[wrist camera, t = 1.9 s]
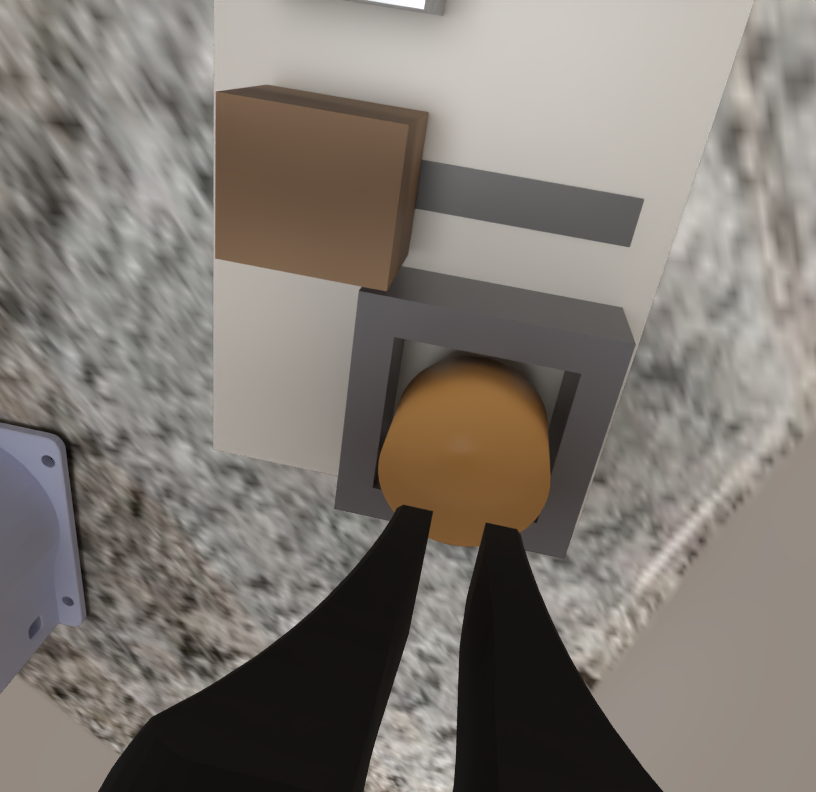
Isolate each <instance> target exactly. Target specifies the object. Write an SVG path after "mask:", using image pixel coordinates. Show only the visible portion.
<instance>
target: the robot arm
mask: <svg viewBox="0 0 816 792" xmlns="http://www.w3.org/2000/svg"><path fill="white" fill-rule="evenodd" d="M49 456H50V457H51V458H52V459H54V461H53V460H52V459H51V458H50V457H49ZM432 516H433V511H431V510H426V509H421V508H417V507H412V506H407V505H401V506H400V507H398V508H396V511H395V513H394V515H393V517H392V518H391V520H390V522H389V523H388V525H387V526H386V528H385V529H384V531H383V532H382V534H381V535H380V536H379V538H378V539H377V541H376V542H375V543H374V545H373V546H372V547H371V548H370V550H369V551H368V552H367V553H366V555H365V556H364V557H363V558H362V559H361V561H360V562H359V563H358V564H357V566H356V567H355V568H354V569H353V570H352V571H351V572H350V573H349V575H348V576H347V577H346V578H345V579H344V580H343V581H342V582H341V583H340V584H339V585H338V586H337V587H336V588H335V589H334V590H333V591H332V592H331V593H330V595H329V596H328V597H327V598H325V599H324V600H323V601H322V602H321V603H320V604H319V605H318V606H317V607H316V608H315V609H314V610H313V611H312V612H311V613H309V614H308V615H307V616H306V617H305V618H304V619H303V620H301V621H300V622H299V623H298V624H297V625H296V626H294V627H293V628H292V629H291V630H289V631H288V632H287V633H286V634H284V635H283V636H282V637H281V638H279V639H278V640H277V641H275V642H274V643H273V644H272V645H270V646H269V647H268V648H266V649H265V650H264V651H262V652H261V653H259V654H258V655H257V656H255V657H254V658H252V659H251V660H249V661H248V662H246V663H245V664H243V665H242V666H240V667H239V668H237V669H235V670H234V671H232V672H231V673H229V674H228V675H226V676H225V677H223V678H221V679H220V680H218V681H217V682H215V683H214V684H212V685H210V686H209V687H207V688H205V689H203V690H202V691H200V692H198V693H196V694H194V695H192V696H191V697H189V698H187V699H185V700H183V701H181V702H179V703H177V704H176V705H174V706H172V707H170V708H168V709H166V710H164V711H163V712H161V713H159V714H157V715H155V716H153V717H151V718H150V720H149V721H148V722H147V723H146V724H145V725H144V727H143V728H142V729H141V730H140V731H139V733H138V734H137V735H136V736H135V738H134V739H133V740H132V741H131V743H130V744H129V745H128V747H127V748H126V749H125V751H124V752H123V753H122V755H121V756H120V757H119V759H118V760H117V762H116V763H115V765H114V766H113V767H112V769H111V770H110V772H109V774H108V775H107V777H106V779H105V781H104V782H103V784H102V786H101V788H100V789H99V791H98V792H363V791H364V786H365V782H366V777H367V772H368V768H369V763H370V759H371V755H372V752H373V748H374V744H375V741H376V737H377V734H378V731H379V727H380V724H381V721H382V718H383V715H384V711H385V708H386V705H387V702H388V699H389V695H390V692H391V689H392V686H393V683H394V679H395V676H396V673H397V670H398V667H399V663H400V660H401V657H402V654H403V651H404V647H405V644H406V641H407V638H408V634H409V629H410V624H411V619H412V615H413V610H414V605H415V600H416V595H417V590H418V585H419V580H420V575H421V570H422V565H423V560H424V555H425V550H426V545H427V540H428V536H429V531H430V526H431V521H432ZM85 619H86V608H85V600H84V592H83V584H82V576H81V568H80V560H79V552H78V544H77V536H76V528H75V520H74V512H73V504H72V496H71V488H70V480H69V471H68V463H67V455H66V448H65V445H64V442H63V441H62V440H61V438H59V437H58V436H57V435H54V434H51V433H47V432H43V431H38V430H33V429H29V428H24V427H19V426H15V425H10V424H5V423H1V422H0V694H1V693H2V691H3V690H4V689H5V688H6V687H7V685H8V684H9V683H10V682H11V680H12V679H13V678H14V677H15V676H16V674H17V673H18V672H19V671H20V669H21V668H22V667H23V666H24V665H25V663H26V662H27V661H28V660H29V658H30V657H31V656H32V655H33V654H34V652H35V651H36V650H37V649H38V647H39V646H40V645H41V644H42V643H43V641H44V640H45V639H46V638H47V636H48V635H49V634H50V633H51V632H52V630H53V629H54V628H55V627H56V625H57V624H58V623H60V624H64V625H68V626H75V627H76V626H80V625H81V624H82V622H83V621H84V620H85ZM453 792H663V791H662V790H661V789H660V787H659V786H658V785H657V784H656V782H655V781H654V780H653V779H652V778H651V776H650V775H649V774H648V773H647V772H646V770H645V769H644V768H643V767H642V766H641V764H640V763H639V761H638V760H637V759H636V757H635V756H634V755H633V753H632V752H631V750H630V749H629V748H628V746H627V745H626V744H625V742H624V741H623V740H622V738H621V737H620V736H619V734H618V733H617V732H616V730H615V729H614V728H613V726H612V725H611V723H610V722H609V720H608V719H607V717H606V716H605V714H604V713H603V711H602V710H601V708H600V707H599V705H598V704H597V702H596V701H595V699H594V697H593V696H592V694H591V692H590V691H589V689H588V688H587V686H586V684H585V683H584V681H583V679H582V678H581V676H580V674H579V672H578V671H577V669H576V667H575V665H574V663H573V662H572V660H571V658H570V656H569V654H568V652H567V650H566V648H565V646H564V644H563V642H562V640H561V638H560V636H559V634H558V632H557V630H556V628H555V626H554V624H553V622H552V620H551V617H550V615H549V613H548V610H547V608H546V606H545V603H544V601H543V599H542V596H541V594H540V592H539V589H538V586H537V584H536V581H535V579H534V576H533V573H532V570H531V567H530V565H529V562H528V558H527V555H526V552H525V549H524V545H523V542H522V537H521V534H520V533H519V532H518V530H517V529H514V528H510V527H505V526H500V525H496V524H491V523H485V527H484V531H483V535H482V539H481V543H480V547H479V551H478V555H477V559H476V563H475V567H474V571H473V575H472V579H471V583H470V587H469V591H468V595H467V599H466V606H465V613H464V619H463V626H462V633H461V641H460V651H459V678H458V708H457V739H456V763H455V777H454V787H453Z"/></svg>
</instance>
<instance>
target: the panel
mask: <svg viewBox="0 0 816 792" xmlns="http://www.w3.org/2000/svg"><path fill="white" fill-rule="evenodd" d="M753 2H754V0H445V3H444V10H443V16H438V15H432V14H426V13H420V12H413V11H407V10H401V9H395V8H388V7H382V6H376V5H369V4H363V3H357V2H351V1H344V0H214V340H213V450H218V451H223V452H227V453H232V454H237V455H241V456H246V457H251V458H255V459H260V460H265V461H269V462H274V463H279V464H283V465H288V466H293V467H297V468H302V469H307V470H311V471H316V472H321V473H326V474H330V475H335V476H338V481H337V490H336V499H335V508H334V509H338V510H342V511H347V512H352V513H356V514H361V515H365V516H370V517H375V518H379V519H384V520H388V521H390V520H391V518H392V517H393V515H394V511H393V510H392V509H391V507H390V506H389V504H388V502H387V501H386V499H385V497H384V494H383V492H382V489H381V486H380V482H379V474H378V465H379V458H380V453H381V450H382V447H383V445H384V442H385V439H386V436H387V434H388V431H389V428H390V426H391V423H392V420H393V417H394V415H395V412H396V409H397V406H398V404H399V401H400V399H401V396H402V394H403V392H404V390H405V389H406V387H407V386H408V384H409V383H410V382H411V381H412V379H413V378H414V377H416V376H417V375H418V374H419V373H420V372H421V371H423V370H424V369H426V368H427V367H429V366H431V365H433V364H435V363H437V362H440V361H443V360H446V359H450V358H455V357H464V356H468V357H482V358H487V359H491V360H495V361H498V362H500V363H503V364H505V365H507V366H509V367H511V368H513V369H515V370H516V371H517V372H519V373H520V374H522V375H523V376H524V377H525V378H526V379H527V380H528V381H529V382H530V383H531V384H532V385H533V386H534V388H535V389H536V390H537V392H538V394H539V395H540V397H541V399H542V401H543V404H544V406H545V410H546V413H547V421H548V437H549V457H550V477H551V478H550V490H549V495H548V498H547V501H546V503H545V506H544V507H543V509H542V511H541V513H540V514H539V515H538V517H537V518H536V519H535V520H534V522H532V523H531V524H530V525H529V526H528V527H527V528H526V529H524V530H523V531H522V532H520V534H521V537H522V542H523V545H524V549H525V550H526V551H531V552H536V553H540V554H545V555H549V556H554V557H559V558H563V559H564V558H565V555H566V552H567V549H568V546H569V543H570V540H571V537H572V534H573V531H574V528H575V527H577V526H578V523H579V520H580V517H581V514H582V511H583V508H584V505H585V502H586V499H587V496H588V493H589V490H590V487H591V484H592V481H593V478H594V475H595V472H596V469H597V466H598V463H599V461H600V458H601V455H602V452H603V449H604V446H605V443H606V440H607V437H608V434H609V431H610V428H611V425H612V422H613V419H614V416H615V413H616V410H617V407H618V404H619V401H620V398H621V395H622V392H623V389H624V386H625V383H626V380H627V377H628V374H629V371H630V368H631V365H632V362H633V359H634V356H635V353H636V350H637V347H638V344H639V342H640V339H641V336H642V333H643V330H644V327H645V324H646V321H647V318H648V315H649V312H650V309H651V306H652V303H653V300H654V297H655V294H656V291H657V288H658V285H659V282H660V279H661V276H662V273H663V270H664V267H665V264H666V261H667V258H668V255H669V252H670V249H671V246H672V243H673V240H674V237H675V234H676V231H677V228H678V225H679V223H680V220H681V217H682V214H683V211H684V208H685V205H686V202H687V199H688V196H689V193H690V190H691V187H692V184H693V181H694V178H695V175H696V172H697V169H698V166H699V163H700V160H701V157H702V154H703V151H704V148H705V145H706V142H707V139H708V136H709V133H710V130H711V127H712V124H713V121H714V118H715V115H716V112H717V109H718V106H719V104H720V101H721V98H722V95H723V92H724V89H725V86H726V83H727V80H728V77H729V74H730V71H731V68H732V65H733V62H734V59H735V56H736V53H737V50H738V47H739V44H740V41H741V38H742V35H743V32H744V29H745V26H746V23H747V20H748V17H749V14H750V11H751V8H752V5H753ZM266 84H267V85H272V86H278V87H284V88H290V89H296V90H302V91H308V92H314V93H319V94H325V95H331V96H337V97H343V98H349V99H355V100H360V101H366V102H372V103H378V104H384V105H390V106H396V107H402V108H407V109H413V110H419V111H425V112H429V114H428V120H427V127H426V134H425V141H424V148H423V155H422V162H421V169H420V176H419V183H418V190H417V196H416V203H415V210H414V217H413V224H412V231H411V238H410V245H409V252H408V256H407V258H406V259H405V261H404V263H403V264H402V266H401V268H400V270H399V271H398V273H397V275H396V276H395V278H394V280H393V282H392V283H391V285H390V287H389V288H388V290H387V291H382V290H377V289H371V288H366V287H361V286H356V285H350V284H345V283H340V282H335V281H330V280H324V279H319V278H314V277H309V276H303V275H298V274H293V273H288V272H283V271H277V270H272V269H267V268H262V267H256V266H251V265H246V264H241V263H236V262H230V261H225V260H220V259H215V119H216V91H223V90H230V89H238V88H245V87H252V86H259V85H266Z"/></svg>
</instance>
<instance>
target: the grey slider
mask: <svg viewBox="0 0 816 792" xmlns="http://www.w3.org/2000/svg"><path fill="white" fill-rule="evenodd" d="M344 1H351V2H357V3H363V4H369V5H376V6H382V7H388V8H395V9H401V10H407V11H413V12H420V13H426V14H432V15H438V16H443V10H444V3H445V0H344Z"/></svg>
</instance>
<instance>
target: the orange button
mask: <svg viewBox="0 0 816 792" xmlns="http://www.w3.org/2000/svg"><path fill="white" fill-rule="evenodd" d="M378 474H379V482H380V486H381V489H382V492H383V494H384V497H385V499H386V501H387V502H388V504H389V506H390V507H391V509H392V510H393V511H394V513H395V511H396V508H398V507H400V506H401V505H407V506H412V507H417V508H421V509H426V510H431V511H433V516H432V521H431V526H430V531H429V536H428V538H430V539H433V540H435V541H438V542H441V543H445V544H449V545H455V546H466V547H474V546H480V543H481V539H482V535H483V531H484V527H485V523H491V524H496V525H500V526H505V527H510V528H514V529H517V530H518V532H519V533H520V532H522V531H523V530H524V529H526V528H527V527H528V526H529V525H530V524H531V523H532V522H534V520H535V519H536V518H537V517H538V515H539V514H540V513H541V511H542V509H543V507H544V506H545V503H546V501H547V498H548V495H549V490H550V478H551V477H550V457H549V437H548V421H547V413H546V410H545V406H544V404H543V401H542V399H541V397H540V395H539V394H538V392H537V390H536V389H535V388H534V386H533V385H532V384H531V383H530V382H529V381H528V380H527V379H526V378H525V377H524V376H523V375H522V374H520V373H519V372H517V371H516V370H515V369H513V368H511V367H509V366H507V365H505V364H503V363H500V362H498V361H495V360H491V359H487V358H482V357H468V356H464V357H455V358H450V359H446V360H443V361H440V362H437V363H435V364H433V365H431V366H429V367H427V368H426V369H424V370H423V371H421V372H420V373H419V374H418V375H417V376H416V377H414V378H413V379H412V381H411V382H410V383H409V384H408V386H407V387H406V389H405V390H404V392H403V394H402V396H401V399H400V401H399V404H398V406H397V409H396V412H395V415H394V417H393V420H392V423H391V426H390V428H389V431H388V434H387V436H386V439H385V442H384V445H383V447H382V450H381V453H380V458H379V465H378Z"/></svg>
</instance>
